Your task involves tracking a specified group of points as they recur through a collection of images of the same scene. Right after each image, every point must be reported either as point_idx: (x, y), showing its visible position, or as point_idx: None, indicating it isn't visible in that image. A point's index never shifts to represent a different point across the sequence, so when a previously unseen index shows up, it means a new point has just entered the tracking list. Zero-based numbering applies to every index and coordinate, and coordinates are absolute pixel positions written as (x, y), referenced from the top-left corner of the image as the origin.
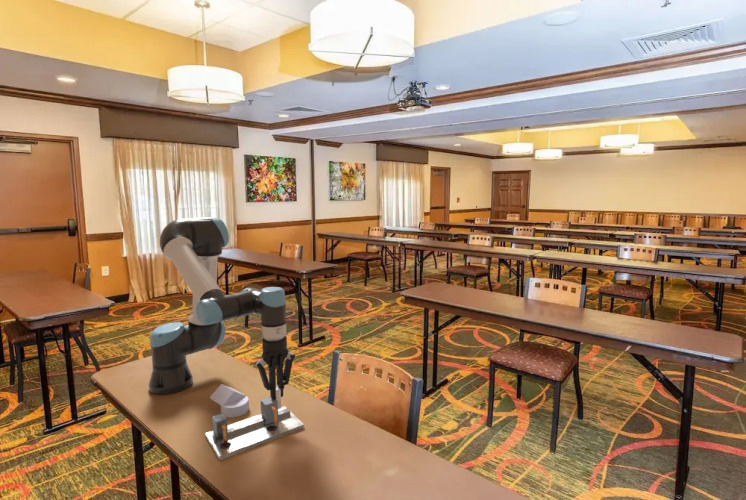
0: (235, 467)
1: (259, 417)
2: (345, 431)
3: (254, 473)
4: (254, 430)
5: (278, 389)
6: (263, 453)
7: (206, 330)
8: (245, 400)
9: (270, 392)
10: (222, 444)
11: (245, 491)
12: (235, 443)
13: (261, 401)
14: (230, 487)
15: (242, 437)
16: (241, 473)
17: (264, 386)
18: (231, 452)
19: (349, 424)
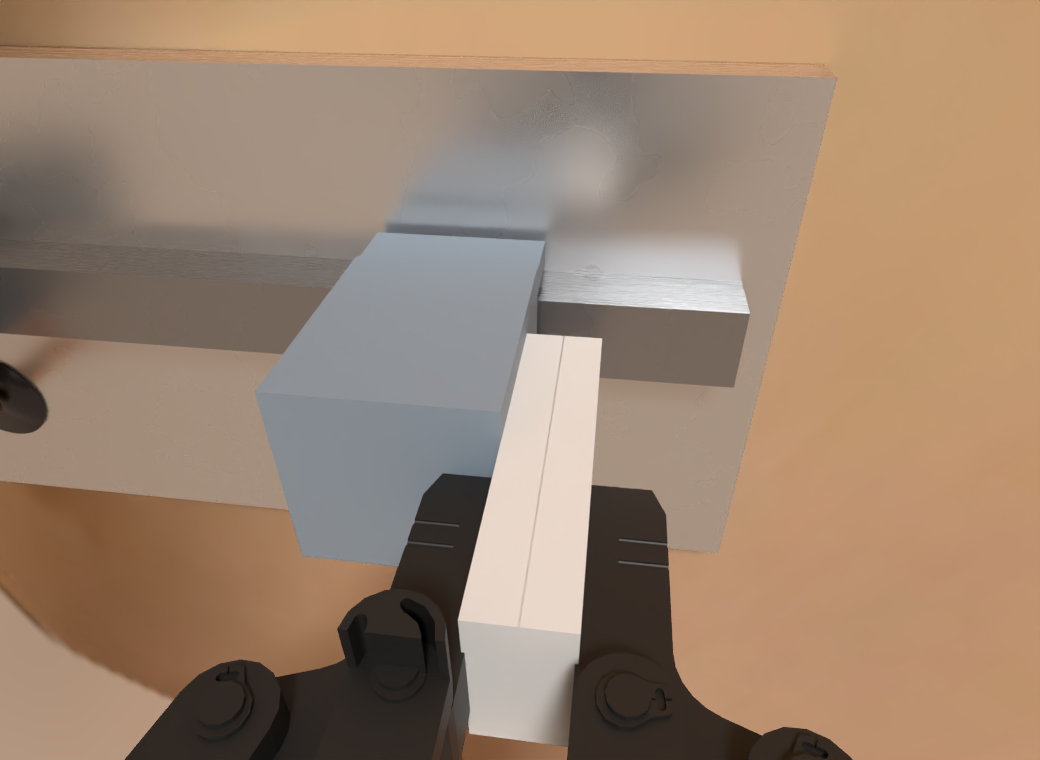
0: (116, 559)
1: (373, 145)
2: (915, 711)
3: (222, 644)
4: (264, 357)
5: (527, 734)
6: (302, 562)
7: None
8: None
9: (396, 580)
10: None
11: (169, 692)
12: (83, 422)
13: (269, 420)
14: (97, 644)
15: (142, 386)
16: (152, 609)
17: (179, 734)
18: (63, 483)
19: (1026, 687)
